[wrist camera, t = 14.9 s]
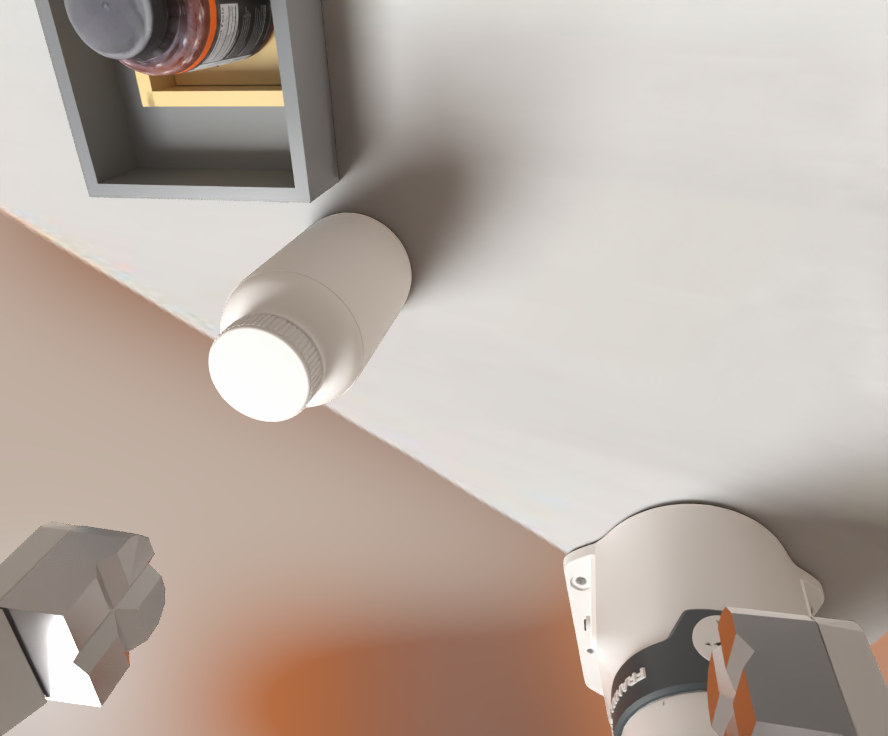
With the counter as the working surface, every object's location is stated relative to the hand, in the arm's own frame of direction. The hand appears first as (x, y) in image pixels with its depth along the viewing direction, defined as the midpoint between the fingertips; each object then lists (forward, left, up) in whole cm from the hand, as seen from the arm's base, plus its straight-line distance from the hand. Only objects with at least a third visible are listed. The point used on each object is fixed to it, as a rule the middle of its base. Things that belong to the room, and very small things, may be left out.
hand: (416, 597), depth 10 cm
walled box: (+5, +20, -34) cm, 40 cm away
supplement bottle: (+7, +18, -33) cm, 38 cm away
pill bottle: (-8, +12, -34) cm, 37 cm away
